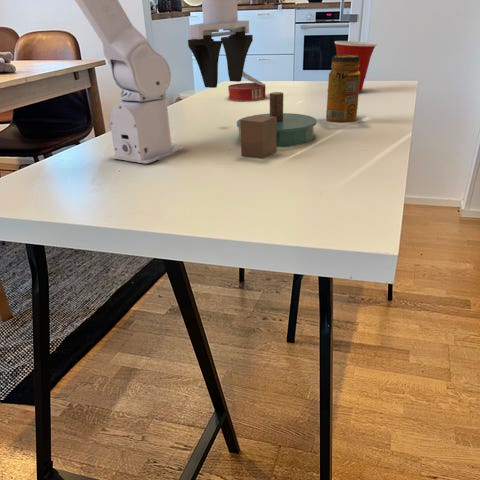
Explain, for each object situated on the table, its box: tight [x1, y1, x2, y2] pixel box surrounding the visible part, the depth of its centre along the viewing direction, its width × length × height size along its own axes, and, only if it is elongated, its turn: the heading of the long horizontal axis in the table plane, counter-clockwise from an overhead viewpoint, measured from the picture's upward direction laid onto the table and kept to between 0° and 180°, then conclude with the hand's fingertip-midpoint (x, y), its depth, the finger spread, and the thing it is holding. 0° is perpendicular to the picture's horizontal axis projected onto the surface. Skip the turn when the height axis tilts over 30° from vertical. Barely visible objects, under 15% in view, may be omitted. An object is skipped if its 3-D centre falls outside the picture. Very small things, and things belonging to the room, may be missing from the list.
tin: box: [238, 126, 315, 148], centre depth 86 cm, size 13×13×3 cm
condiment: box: [325, 54, 360, 124], centre depth 94 cm, size 7×8×12 cm
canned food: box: [227, 70, 267, 102], centre depth 126 cm, size 11×10×10 cm
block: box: [240, 114, 277, 160], centre depth 76 cm, size 4×4×6 cm
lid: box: [236, 91, 317, 133], centre depth 84 cm, size 14×14×6 cm
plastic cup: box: [334, 40, 378, 94], centre depth 126 cm, size 11×11×12 cm
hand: (223, 84), depth 84 cm, fingers open, 7 cm apart
